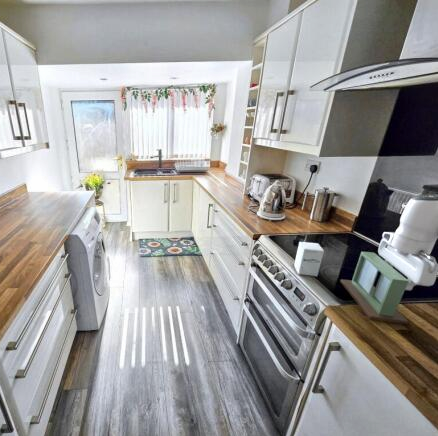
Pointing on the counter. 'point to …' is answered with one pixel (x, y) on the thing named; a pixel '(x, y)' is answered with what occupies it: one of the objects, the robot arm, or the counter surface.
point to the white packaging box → (308, 258)
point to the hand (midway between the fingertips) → (396, 280)
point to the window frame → (364, 288)
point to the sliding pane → (381, 287)
